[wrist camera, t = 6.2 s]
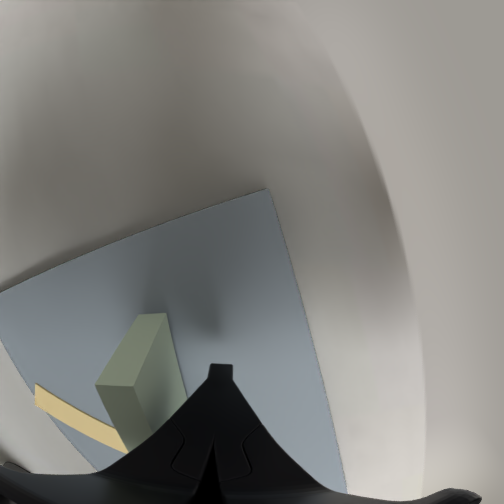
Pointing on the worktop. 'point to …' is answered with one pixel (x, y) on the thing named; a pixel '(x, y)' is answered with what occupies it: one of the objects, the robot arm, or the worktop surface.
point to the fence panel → (142, 380)
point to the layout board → (178, 328)
